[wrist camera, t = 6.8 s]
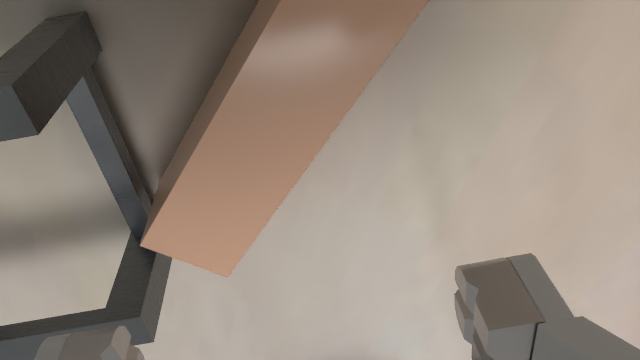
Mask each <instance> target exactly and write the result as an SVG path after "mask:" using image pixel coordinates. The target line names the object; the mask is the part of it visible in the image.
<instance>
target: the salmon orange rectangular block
mask: <svg viewBox="0 0 640 360" xmlns="http://www.w3.org/2000/svg"><path fill="white" fill-rule="evenodd" d="M428 1H429V0H259V1H258V3H257V5H256V7H255V9H254V10H253V12H252V14H251V16H250V18H249V19H248V21H247V23H246V25H245V27H244V28H243V30H242V32H241V34H240V36H239V38H238V39H237V41H236V43H235V45H234V47H233V48H232V50H231V52H230V54H229V56H228V57H227V59H226V61H225V63H224V65H223V66H222V68H221V70H220V72H219V74H218V76H217V77H216V79H215V81H214V83H213V85H212V86H211V88H210V90H209V92H208V94H207V95H206V97H205V99H204V101H203V103H202V104H201V106H200V108H199V110H198V112H197V114H196V115H195V117H194V119H193V121H192V123H191V124H190V126H189V128H188V130H187V132H186V133H185V135H184V137H183V139H182V141H181V142H180V144H179V146H178V148H177V150H176V152H175V153H174V155H173V157H172V159H171V161H170V162H169V164H168V166H167V168H166V170H165V171H164V173H163V175H162V177H161V179H160V181H159V184H158V187H157V191H156V194H155V197H154V200H153V204H152V207H151V210H150V214H149V217H148V220H147V223H146V227H145V230H144V233H143V236H142V240H141V243H140V246H142V247H144V248H147V249H150V250H153V251H155V252H158V253H161V254H164V255H167V256H169V257H172V258H175V259H178V260H180V261H183V262H186V263H189V264H192V265H194V266H197V267H200V268H203V269H205V270H208V271H211V272H214V273H217V274H219V275H222V276H225V277H228V276H229V275H230V274H231V272H232V271H233V269H234V268H235V267H236V265H237V264H238V262H239V261H240V260H241V258H242V257H243V256H244V254H245V253H246V251H247V250H248V249H249V247H250V246H251V245H252V243H253V242H254V240H255V239H256V238H257V236H258V235H259V234H260V232H261V231H262V229H263V228H264V227H265V225H266V224H267V223H268V221H269V220H270V218H271V217H272V216H273V214H274V213H275V212H276V210H277V209H278V207H279V206H280V205H281V203H282V202H283V200H284V199H285V198H286V196H287V195H288V194H289V192H290V191H291V189H292V188H293V187H294V185H295V184H296V183H297V181H298V180H299V178H300V177H301V176H302V174H303V173H304V172H305V170H306V169H307V167H308V166H309V165H310V163H311V162H312V161H313V159H314V158H315V156H316V155H317V154H318V152H319V151H320V149H321V148H322V147H323V145H324V144H325V143H326V141H327V140H328V138H329V137H330V136H331V134H332V133H333V132H334V130H335V129H336V127H337V126H338V125H339V123H340V122H341V121H342V119H343V118H344V116H345V115H346V114H347V112H348V111H349V110H350V108H351V107H352V105H353V104H354V103H355V101H356V100H357V99H358V97H359V96H360V94H361V93H362V92H363V90H364V89H365V87H366V86H367V85H368V83H369V82H370V81H371V79H372V78H373V76H374V75H375V74H376V72H377V71H378V70H379V68H380V67H381V65H382V64H383V63H384V61H385V60H386V59H387V57H388V56H389V54H390V53H391V52H392V50H393V49H394V48H395V46H396V45H397V43H398V42H399V41H400V39H401V38H402V37H403V35H404V34H405V32H406V31H407V30H408V28H409V27H410V25H411V24H412V23H413V21H414V20H415V19H416V17H417V16H418V14H419V13H420V12H421V10H422V9H423V8H424V6H425V5H426V3H427V2H428Z"/></svg>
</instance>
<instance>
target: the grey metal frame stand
mask: <svg viewBox="0 0 640 360" xmlns="http://www.w3.org/2000/svg"><path fill="white" fill-rule="evenodd" d="M101 52H102V49H101V46H100V44H99V41H98V39H97V37H96V34H95V32H94V30H93V27H92V25H91V22H90V20H89V18H88V15H87V13H86V12H82V13H76V14H71V15H65V16H59V17H54V18H48V19H45V20H44V21H43V22H42V23H41V24H39V25H38V26H37V27H36V28H35V29H33V30H32V31H31V32H30V33H29V34H27V35H26V36H25V37H24V38H23V39H21V40H20V41H19V42H18V43H17V44H15V45H14V46H13V47H12V48H11V49H9V50H8V51H7V52H6V53H5V54H3V55H2V56H1V57H0V141H6V140H12V139H17V138H23V137H29V136H34V135H39V133H40V132H41V131H42V130H43V128H44V127H45V126H46V124H47V123H48V122H49V120H50V119H51V118H52V116H53V115H54V114H55V112H56V111H57V110H58V108H59V107H60V106H61V104H62V103H63V102H64V101H65V99H66V100H67V102H68V104H69V106H70V108H71V110H72V112H73V114H74V116H75V118H76V120H77V122H78V124H79V126H80V128H81V130H82V132H83V134H84V136H85V138H86V140H87V142H88V144H89V146H90V148H91V150H92V152H93V154H94V156H95V158H96V160H97V163H98V165H99V167H100V169H101V171H102V173H103V175H104V177H105V179H106V181H107V183H108V185H109V187H110V189H111V191H112V193H113V195H114V197H115V199H116V201H117V203H118V205H119V207H120V209H121V211H122V213H123V215H124V217H125V219H126V221H127V223H128V225H129V227H130V229H131V234H130V237H129V240H128V243H127V246H126V249H125V252H124V255H123V258H122V261H121V264H120V267H119V269H118V272H117V275H116V278H115V281H114V284H113V287H112V290H111V293H110V296H109V299H108V302H107V305H106V308H103V309H97V310H92V311H86V312H80V313H74V314H68V315H63V316H57V317H51V318H45V319H39V320H34V321H28V322H22V323H16V324H10V325H5V326H0V360H34V359H35V357H36V354H37V352H38V350H39V347H40V345H41V344H42V343H43V342H44V341H45V340H46V339H47V338H48V337H52V336H58V335H65V334H71V333H76V332H83V331H90V330H96V329H103V328H110V327H117V326H125V327H126V329H127V330H128V332H129V333H130V334H131V339H130V343H129V344H130V345H132V346H133V345H139V344H145V343H151V342H154V338H155V334H156V329H157V325H158V320H159V316H160V311H161V307H162V302H163V297H164V293H165V288H166V284H167V279H168V275H169V270H170V266H171V261H172V257H169V256H167V255H164V254H161V253H158V252H155V251H153V250H150V249H147V248H144V247H142V246H140V243H141V240H142V236H143V233H144V230H145V227H146V223H147V220H148V217H149V214H150V210H151V207H152V204H151V202H150V200H149V197H148V195H147V193H146V191H145V188H144V186H143V184H142V182H141V179H140V177H139V175H138V172H137V170H136V168H135V166H134V163H133V161H132V159H131V157H130V154H129V152H128V150H127V148H126V145H125V143H124V141H123V139H122V136H121V134H120V132H119V130H118V127H117V125H116V123H115V121H114V118H113V116H112V114H111V112H110V109H109V107H108V105H107V102H106V100H105V98H104V96H103V93H102V91H101V89H100V87H99V84H98V82H97V80H96V78H95V75H94V73H93V71H92V69H91V65H92V64H93V62H94V61H95V60H96V58H97V57H98V56H99V54H100V53H101Z"/></svg>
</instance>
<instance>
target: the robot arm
mask: <svg viewBox="0 0 640 360" xmlns="http://www.w3.org/2000/svg"><path fill="white" fill-rule="evenodd" d="M455 281H456V283H457V286H458V288H459V289H458V290H457V292H456V293H455V294H454V296H455V310H456V316H457V320H458V323H459V327H460V330H461V332H462V335H463V338H464V339H465V340H466V341H468V342H469V343H471V344H472V360H640V350H639V349H638V348H636V347H634V346H633V345H631V344H629V343H627V342H626V341H624V340H622V339H621V338H619V337H617V336H616V335H614V334H612V333H610V332H609V331H607V330H605V329H604V328H602V327H600V326H598V325H597V324H595V323H593V322H592V321H590V320H588V319H587V318H585V317H583V316H581V317H574V315H573V314H572V312H571V311H570V309H569V307H568V306H567V304H566V303H565V301H564V300H563V298H562V297H561V295H560V294H559V292H558V290H557V289H556V287H555V286H554V284H553V283H552V281H551V280H550V278H549V277H548V275H547V273H546V272H545V270H544V269H543V267H542V266H541V264H540V263H539V261H538V260H537V258H536V256H534V255H533V254H531V253H529V254H523V255H517V256H512V257H506V258H499V259H493V260H488V261H483V262H477V263H472V264H467V265H461V266H457V267H456V270H455ZM130 339H131V334H130V333H129V332H128V330H127V329H126V327H125V326H117V327H110V328H103V329H96V330H90V331H83V332H76V333H71V334H65V335H58V336H52V337H48V338H47V339H46V340H45V341H44V342H43V343H42V344H41V345H40V347H39V350H38V352H37V354H36V357H35V359H34V360H145V359H144V356H143V354H142V352H141V351H140V349H139V348H137V347H134V346H132V345H130V344H129V343H130Z"/></svg>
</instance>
